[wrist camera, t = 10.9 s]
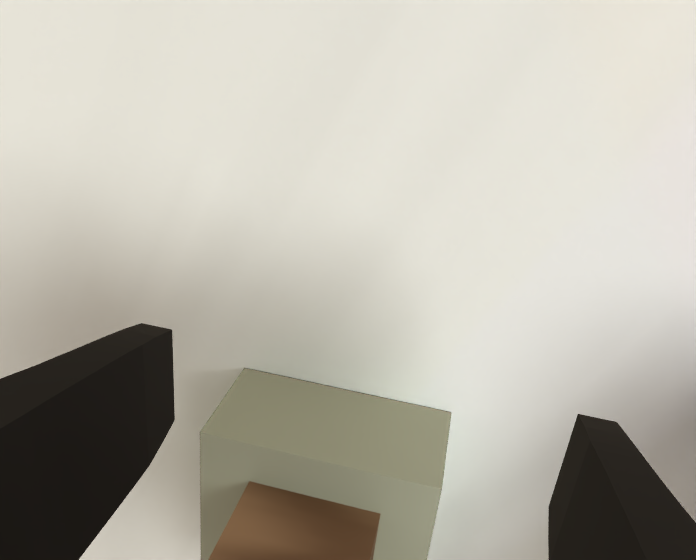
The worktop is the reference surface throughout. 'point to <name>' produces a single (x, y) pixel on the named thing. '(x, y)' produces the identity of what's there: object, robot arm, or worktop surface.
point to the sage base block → (326, 456)
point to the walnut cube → (295, 528)
